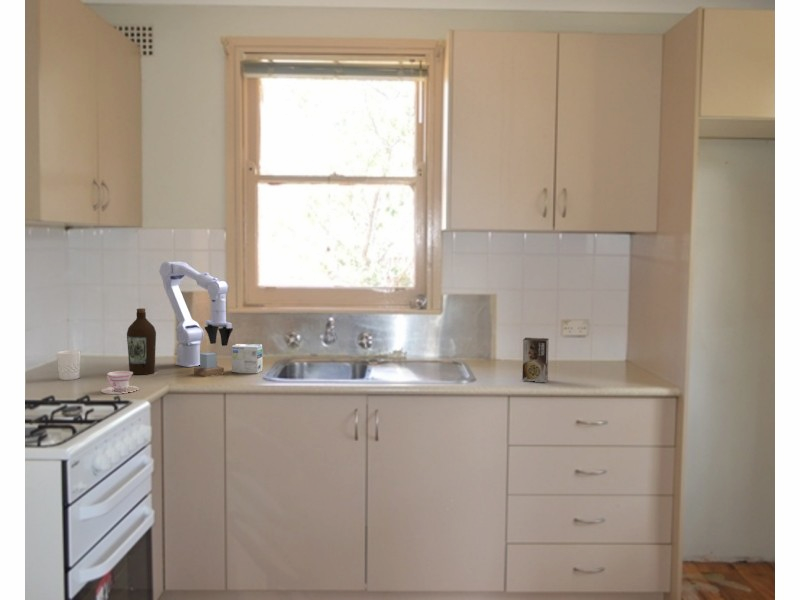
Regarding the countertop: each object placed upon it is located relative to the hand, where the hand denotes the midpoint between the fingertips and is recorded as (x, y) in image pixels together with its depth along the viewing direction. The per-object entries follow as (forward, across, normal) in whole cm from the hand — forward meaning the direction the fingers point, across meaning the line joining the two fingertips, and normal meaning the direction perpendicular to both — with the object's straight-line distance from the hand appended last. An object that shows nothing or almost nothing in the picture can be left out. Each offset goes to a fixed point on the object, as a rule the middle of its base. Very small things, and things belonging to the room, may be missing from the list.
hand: (218, 344), depth 282 cm
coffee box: (+10, +106, +67) cm, 126 cm away
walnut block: (+10, +6, -9) cm, 15 cm away
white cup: (+10, -24, -49) cm, 55 cm away
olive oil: (+10, -15, -25) cm, 31 cm away
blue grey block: (+7, +6, -9) cm, 13 cm away
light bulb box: (+10, +13, +4) cm, 17 cm away
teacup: (+10, +9, -47) cm, 49 cm away
